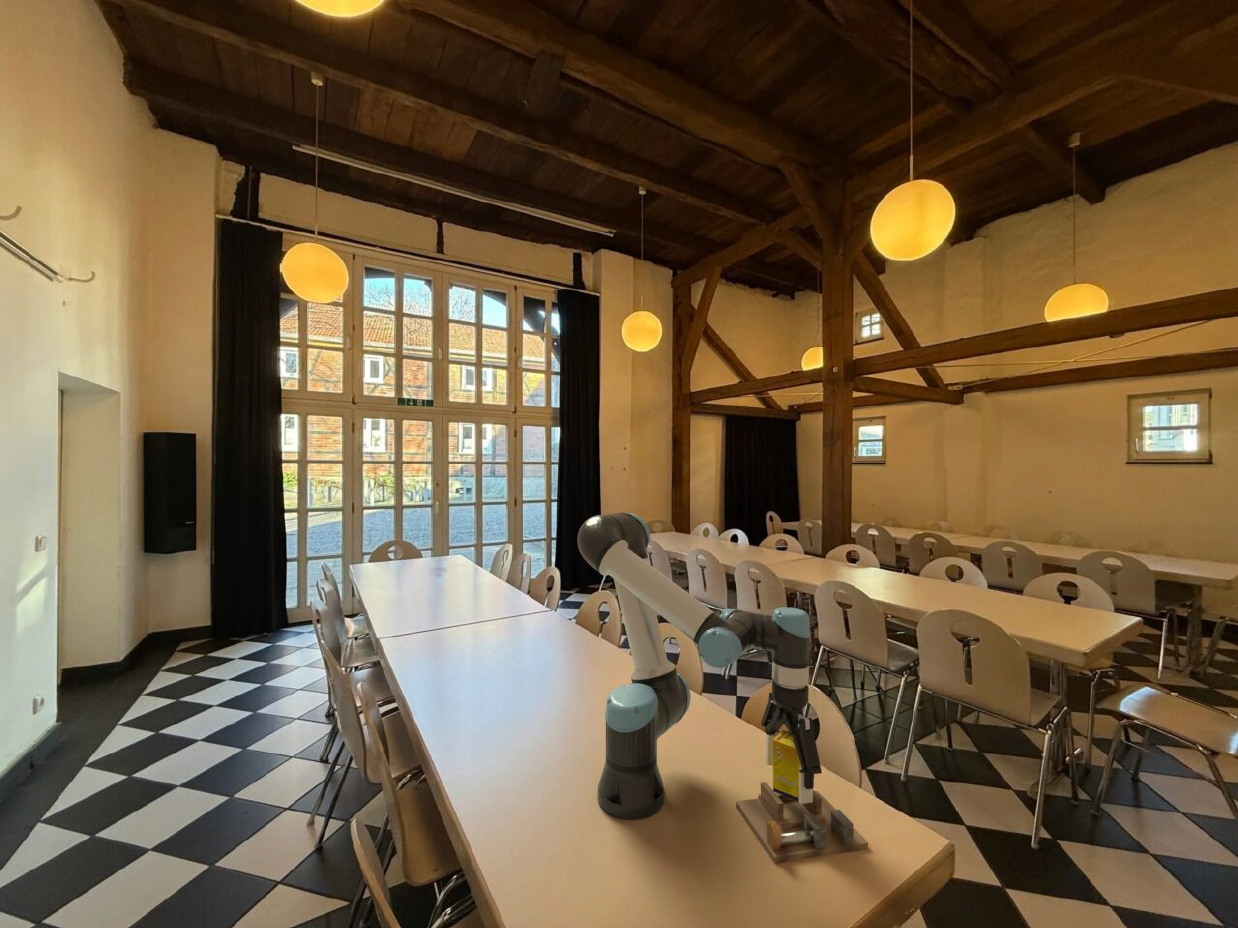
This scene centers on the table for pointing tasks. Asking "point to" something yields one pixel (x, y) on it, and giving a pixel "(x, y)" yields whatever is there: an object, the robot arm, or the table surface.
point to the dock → (800, 825)
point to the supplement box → (785, 766)
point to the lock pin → (786, 836)
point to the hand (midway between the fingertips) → (787, 781)
